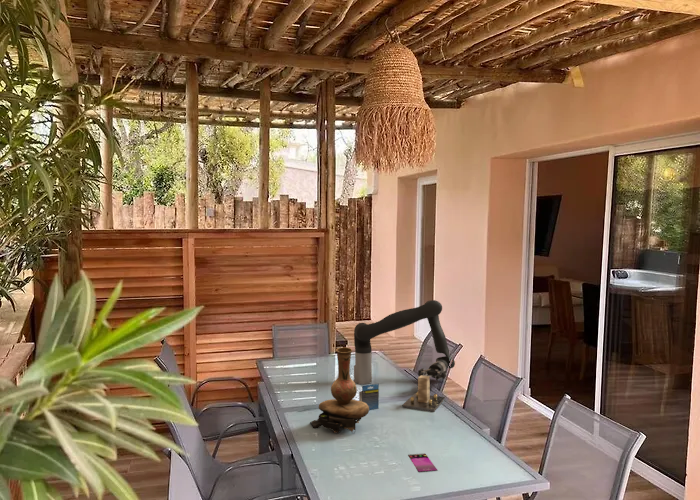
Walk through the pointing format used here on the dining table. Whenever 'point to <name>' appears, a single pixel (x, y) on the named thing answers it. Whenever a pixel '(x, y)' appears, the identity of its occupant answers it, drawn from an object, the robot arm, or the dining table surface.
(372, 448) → the dining table surface
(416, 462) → the smartphone
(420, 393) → the maple block
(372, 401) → the label tape box
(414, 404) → the chassis
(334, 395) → the vase
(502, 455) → the dining table surface
